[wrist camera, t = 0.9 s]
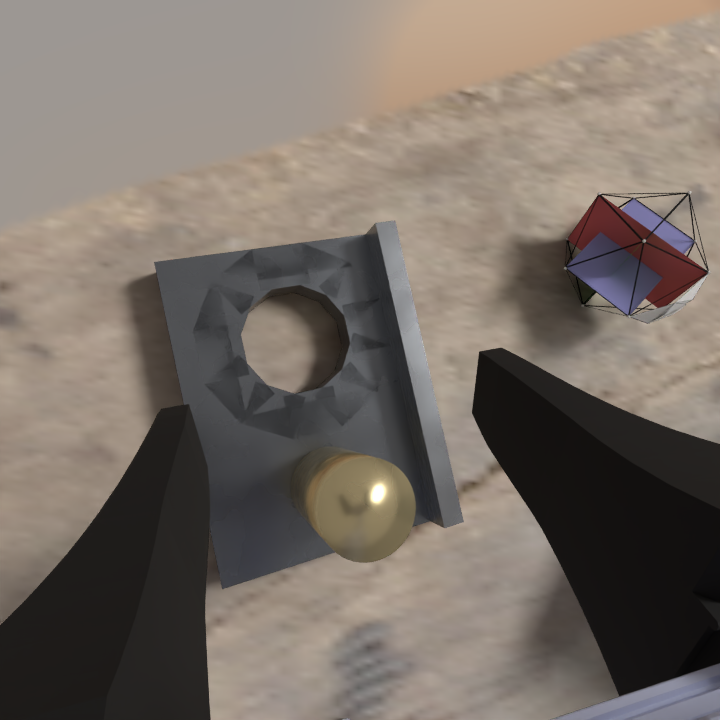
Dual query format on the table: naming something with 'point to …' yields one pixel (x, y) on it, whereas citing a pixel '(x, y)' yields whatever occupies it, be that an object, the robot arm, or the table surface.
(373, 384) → the jig
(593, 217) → the geometric puzzle
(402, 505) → the brass cylinder plug
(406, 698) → the table surface
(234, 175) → the table surface
